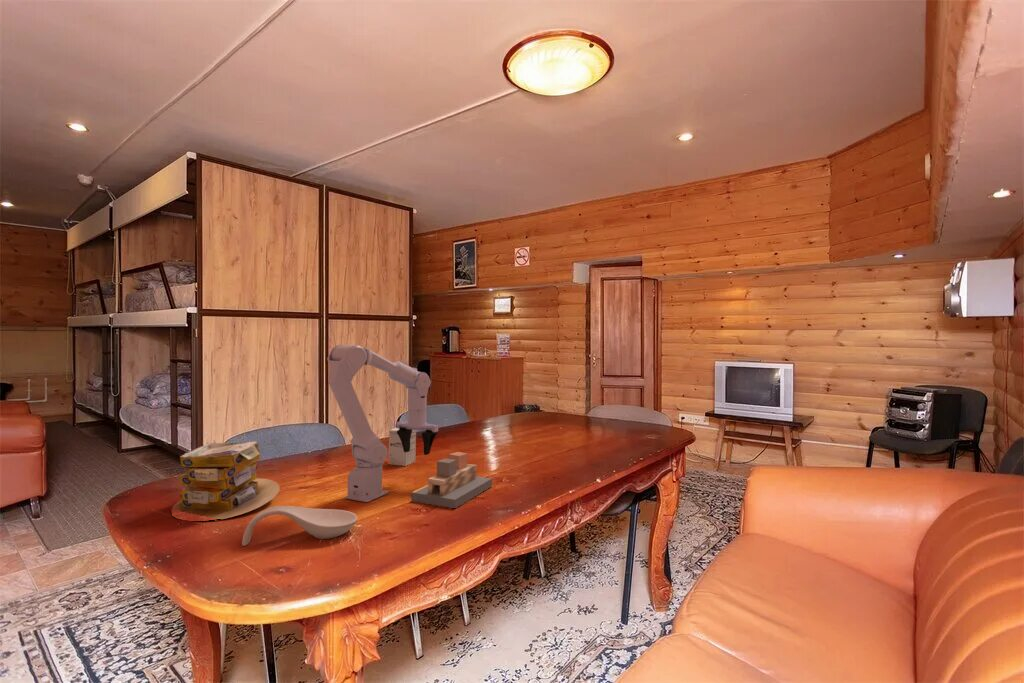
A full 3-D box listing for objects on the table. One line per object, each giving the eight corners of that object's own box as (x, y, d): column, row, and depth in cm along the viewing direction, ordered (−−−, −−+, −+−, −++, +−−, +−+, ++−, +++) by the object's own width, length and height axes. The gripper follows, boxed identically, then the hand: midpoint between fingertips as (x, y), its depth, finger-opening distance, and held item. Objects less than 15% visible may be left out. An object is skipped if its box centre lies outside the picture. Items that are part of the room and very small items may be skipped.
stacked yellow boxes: (217, 528, 112) (218, 457, 112) (147, 513, 121) (148, 447, 121) (298, 497, 135) (299, 438, 135) (235, 486, 144) (236, 431, 144)
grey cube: (448, 477, 133) (449, 463, 133) (436, 475, 135) (437, 461, 135) (456, 473, 137) (456, 459, 137) (444, 472, 139) (444, 458, 139)
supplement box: (387, 464, 171) (388, 429, 171) (398, 460, 178) (398, 426, 178) (406, 466, 169) (406, 431, 169) (416, 461, 176) (416, 427, 176)
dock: (454, 509, 127) (454, 499, 127) (411, 501, 132) (411, 491, 132) (491, 486, 147) (491, 478, 147) (452, 480, 152) (452, 472, 152)
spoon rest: (356, 521, 117) (356, 492, 117) (358, 540, 106) (358, 508, 106) (247, 534, 109) (248, 502, 109) (238, 555, 98) (238, 521, 98)
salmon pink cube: (458, 469, 142) (458, 456, 142) (448, 467, 144) (448, 454, 144) (467, 466, 145) (467, 453, 145) (457, 464, 147) (457, 451, 147)
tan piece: (443, 495, 130) (443, 480, 130) (428, 493, 132) (428, 478, 132) (476, 478, 147) (476, 465, 147) (462, 475, 149) (462, 463, 149)
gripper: (443, 409, 150) (443, 452, 150) (406, 406, 156) (405, 448, 156) (431, 412, 144) (430, 457, 144) (392, 409, 150) (391, 452, 150)
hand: (416, 453), depth 150 cm, fingers open, 7 cm apart
